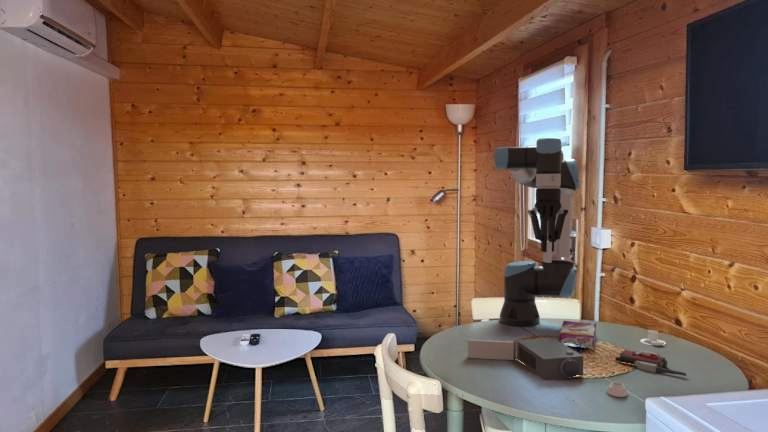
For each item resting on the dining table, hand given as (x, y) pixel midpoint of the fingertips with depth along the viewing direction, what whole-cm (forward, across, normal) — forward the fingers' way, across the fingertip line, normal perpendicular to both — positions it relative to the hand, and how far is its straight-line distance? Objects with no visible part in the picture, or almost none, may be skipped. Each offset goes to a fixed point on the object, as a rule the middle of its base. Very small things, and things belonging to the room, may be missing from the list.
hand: (547, 262), depth 180 cm
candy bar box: (+27, +21, +16) cm, 38 cm away
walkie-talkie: (+30, +24, -19) cm, 43 cm away
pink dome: (+30, +2, -35) cm, 46 cm away
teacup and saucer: (+30, +37, +2) cm, 48 cm away
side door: (+29, -19, -2) cm, 35 cm away
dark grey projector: (+29, -6, -13) cm, 33 cm away
